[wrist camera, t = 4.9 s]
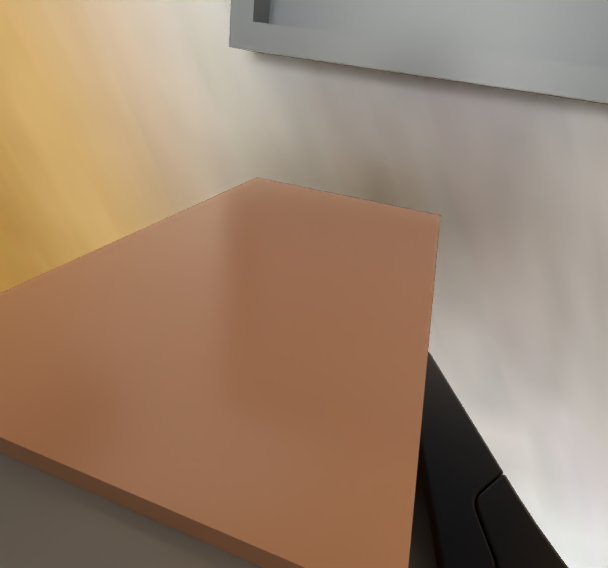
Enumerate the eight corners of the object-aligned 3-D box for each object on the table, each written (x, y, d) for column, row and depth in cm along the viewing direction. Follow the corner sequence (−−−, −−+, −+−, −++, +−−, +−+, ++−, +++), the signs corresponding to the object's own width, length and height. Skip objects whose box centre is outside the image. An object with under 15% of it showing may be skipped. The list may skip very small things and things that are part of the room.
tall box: (440, 215, 10) (379, 886, 2) (395, 371, 12) (271, 986, 4) (257, 177, 11) (-359, 454, 3) (246, 326, 14) (-103, 731, 5)
